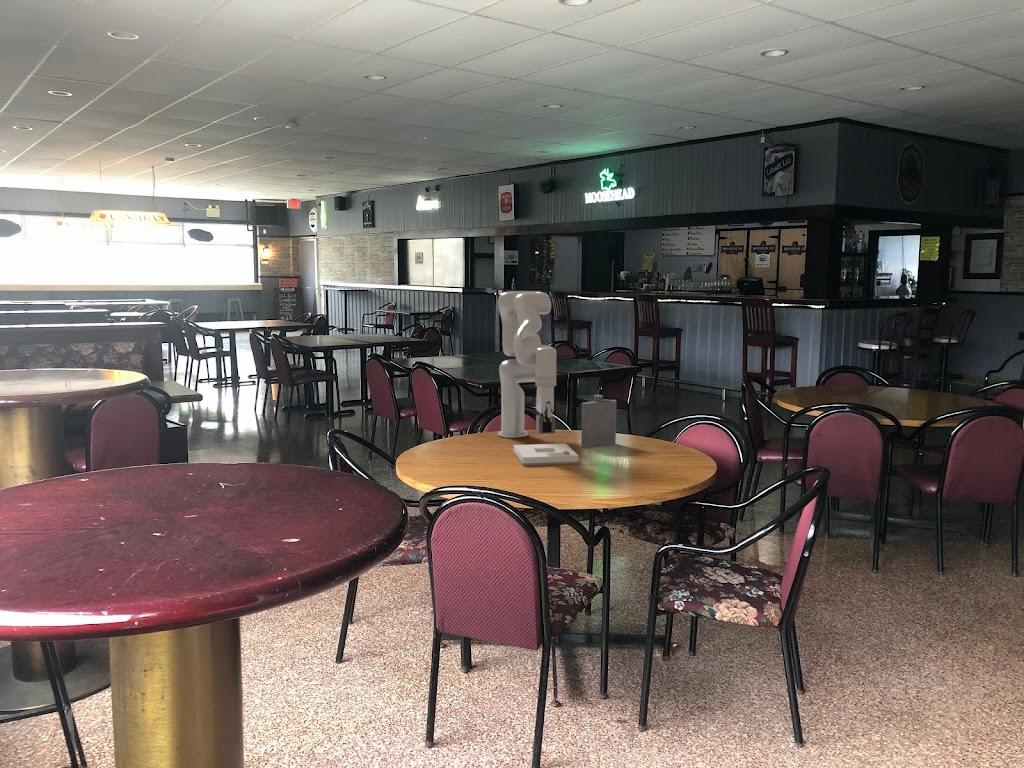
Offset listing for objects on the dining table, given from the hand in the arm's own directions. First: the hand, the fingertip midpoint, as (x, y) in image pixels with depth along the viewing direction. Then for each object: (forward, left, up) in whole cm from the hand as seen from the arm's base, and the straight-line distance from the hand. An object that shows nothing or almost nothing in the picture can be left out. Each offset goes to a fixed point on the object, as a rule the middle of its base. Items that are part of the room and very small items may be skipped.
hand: (545, 430), depth 292 cm
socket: (0, 0, -11) cm, 11 cm away
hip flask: (-18, +25, -11) cm, 33 cm away
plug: (0, 0, -2) cm, 2 cm away
